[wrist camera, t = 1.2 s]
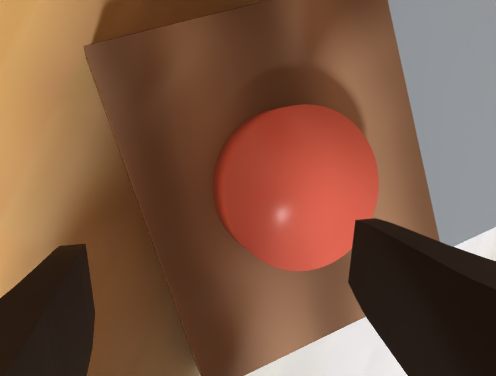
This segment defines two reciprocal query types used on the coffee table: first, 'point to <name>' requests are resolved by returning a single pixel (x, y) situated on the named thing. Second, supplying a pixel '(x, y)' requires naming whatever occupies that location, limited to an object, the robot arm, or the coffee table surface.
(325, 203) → the red ball
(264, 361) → the board
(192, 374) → the coffee table surface
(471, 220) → the mat
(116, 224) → the coffee table surface
